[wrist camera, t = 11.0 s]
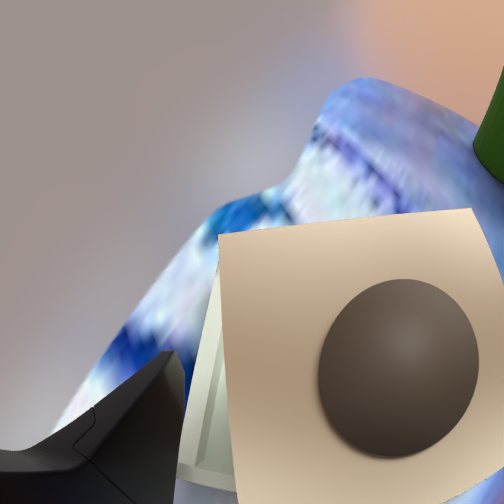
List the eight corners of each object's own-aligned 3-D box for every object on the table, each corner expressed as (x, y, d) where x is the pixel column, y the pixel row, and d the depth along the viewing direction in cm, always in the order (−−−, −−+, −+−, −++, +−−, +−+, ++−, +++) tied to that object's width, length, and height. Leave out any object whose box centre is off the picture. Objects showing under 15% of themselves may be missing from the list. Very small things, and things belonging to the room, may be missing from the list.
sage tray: (380, 484, 12) (397, 496, 9) (190, 466, 14) (174, 476, 11) (398, 297, 18) (415, 279, 15) (227, 280, 20) (218, 260, 17)
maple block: (358, 422, 13) (531, 447, 2) (271, 437, 13) (243, 552, 2) (346, 343, 16) (472, 204, 4) (263, 355, 16) (217, 231, 4)
